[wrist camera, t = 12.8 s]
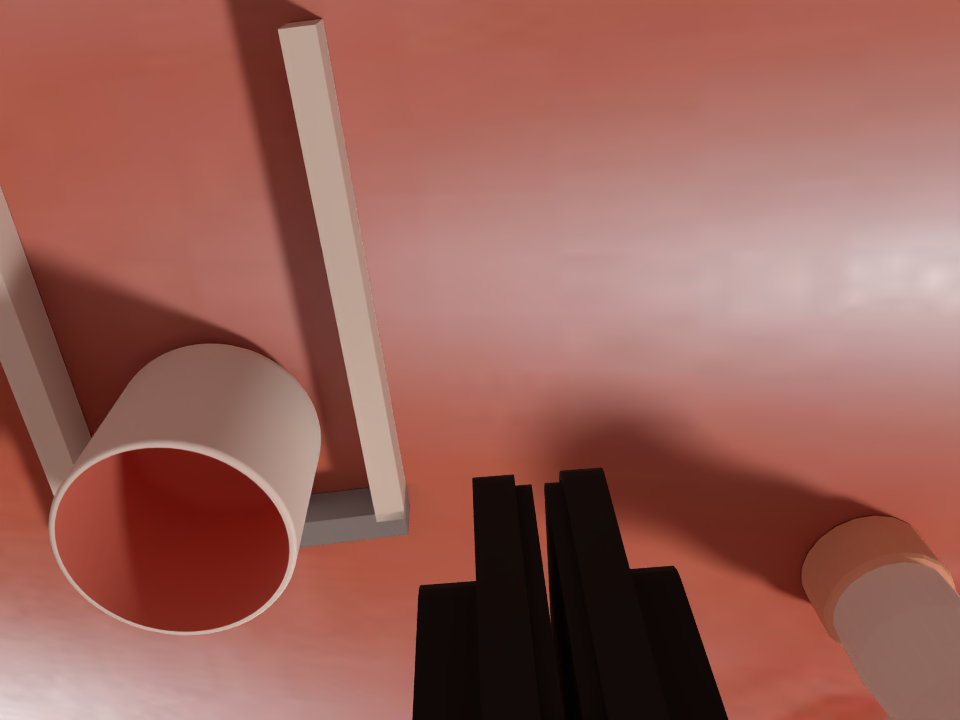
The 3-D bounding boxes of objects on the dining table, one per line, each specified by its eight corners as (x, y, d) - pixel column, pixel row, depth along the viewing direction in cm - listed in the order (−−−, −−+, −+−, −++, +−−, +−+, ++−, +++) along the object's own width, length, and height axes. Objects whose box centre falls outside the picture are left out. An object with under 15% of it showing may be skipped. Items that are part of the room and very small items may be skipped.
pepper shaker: (886, 624, 53) (1101, 955, 36) (779, 599, 52) (950, 931, 35) (948, 530, 50) (1216, 843, 33) (836, 502, 49) (1054, 812, 32)
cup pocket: (-80, 68, 37) (-113, 77, 34) (322, 18, 36) (315, 24, 34) (101, 542, 48) (84, 572, 45) (409, 505, 48) (408, 534, 45)
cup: (122, 487, 46) (47, 621, 37) (128, 317, 42) (46, 422, 33) (311, 514, 48) (282, 649, 39) (336, 351, 43) (310, 462, 34)
